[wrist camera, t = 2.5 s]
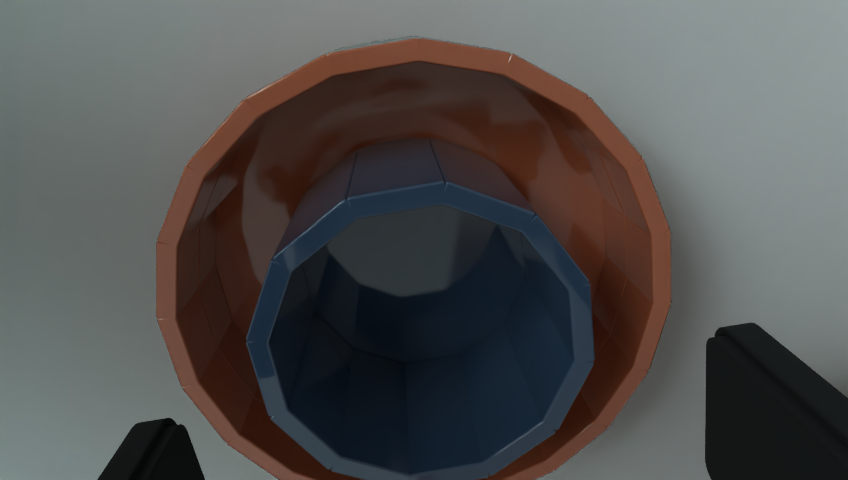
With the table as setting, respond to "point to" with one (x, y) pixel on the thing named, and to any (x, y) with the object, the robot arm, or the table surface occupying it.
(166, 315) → the big bowl
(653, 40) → the table surface
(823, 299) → the table surface
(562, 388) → the small bowl
